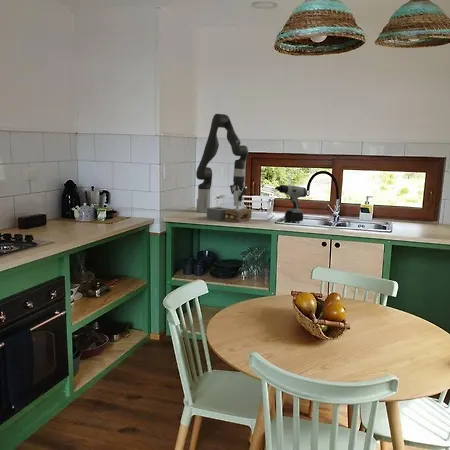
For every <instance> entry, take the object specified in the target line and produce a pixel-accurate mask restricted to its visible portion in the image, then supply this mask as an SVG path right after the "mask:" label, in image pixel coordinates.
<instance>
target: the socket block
mask: <svg viewBox="0 0 450 450" xmlns="http://www.w3.org/2000/svg"><path fill="white" fill-rule="evenodd" d="M234 209H235V208H229V210H225V215H229V214H234V215H236V218H230V217H225V220H224V221H228V222H232V223H244V222H250V218H249V217H250V211H248V210H242V208H241V211H234ZM244 214H245V217H241V215H244Z"/></svg>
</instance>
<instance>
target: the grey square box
mask: <svg viewBox="0 0 450 450" xmlns="http://www.w3.org/2000/svg"><path fill="white" fill-rule="evenodd" d="M229 209H230V208H228V207H222V206H212V207H210V208H207V212H206V219H210V220H215V221H226V220H225V210H229Z"/></svg>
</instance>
